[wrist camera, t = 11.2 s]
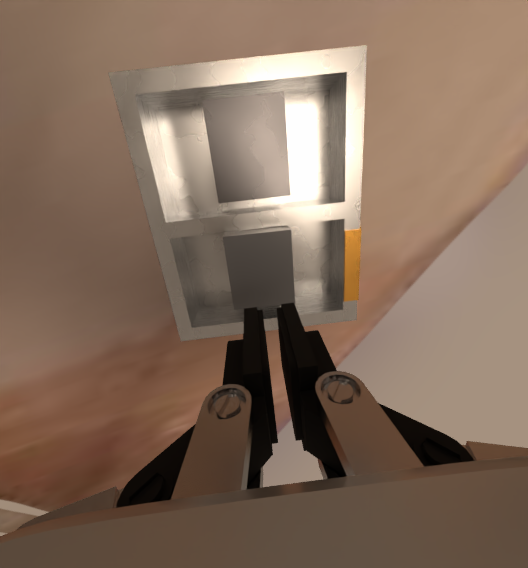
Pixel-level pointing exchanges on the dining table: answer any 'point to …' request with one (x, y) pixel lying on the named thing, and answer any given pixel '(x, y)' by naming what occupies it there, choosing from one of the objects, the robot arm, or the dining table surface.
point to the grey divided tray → (250, 176)
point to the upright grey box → (260, 266)
